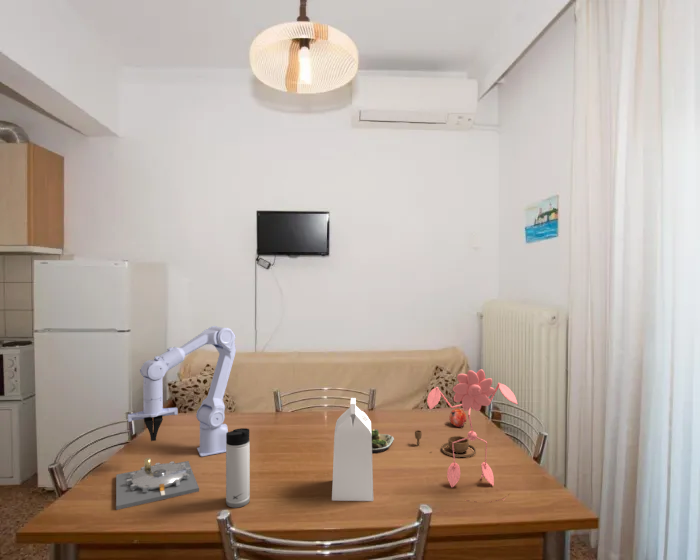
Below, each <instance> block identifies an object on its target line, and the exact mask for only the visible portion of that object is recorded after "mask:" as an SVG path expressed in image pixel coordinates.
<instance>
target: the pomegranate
mask: <svg viewBox="0 0 700 560" xmlns="http://www.w3.org/2000/svg"><path fill="white" fill-rule="evenodd" d="M448 416H449V422H450V424H452V425H453V426H455V427H456V428H462V427H463V426H464V425H467V423H466V422H467V419H468V418H467V414H466V411H464V410H463V408H454V409H452V410H451V411H450V414H449V415H448Z"/></svg>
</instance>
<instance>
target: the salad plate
mask: <svg viewBox="0 0 700 560" xmlns="http://www.w3.org/2000/svg"><path fill="white" fill-rule="evenodd" d="M371 434H372V454H375V453H376V454H377V453H383V452H385V451H387V450H389V449H390V447H391V445H393V442H394V441H395V438H394V436H392V435H390V434H386V433H384V434H383V433H379V429H377V428H371Z"/></svg>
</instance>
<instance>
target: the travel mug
mask: <svg viewBox="0 0 700 560" xmlns="http://www.w3.org/2000/svg"><path fill="white" fill-rule="evenodd" d="M250 448H251V447H250V428H246V427H245V428H244V427H243V428H236V429H232V430H231V431H228V432H227V433H226V452H225V502H226V506H228V507H230V508H236V509H237V508H242V507H244V506H247V505H248V504H249V502H250V500H251V496H250V494H251V492H250V491H251V490H250V485H251V484H250V483H251V482H250V477H251V476H250V474H251V473H250V472H251V471H250V468H251V467H250V466H251V465H250V464H251V463H250V461H251V460H250V456H251V455H250V453H251V451H250Z"/></svg>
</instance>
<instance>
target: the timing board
mask: <svg viewBox="0 0 700 560" xmlns="http://www.w3.org/2000/svg"><path fill="white" fill-rule="evenodd" d="M182 463H185V464H186V468H189V467H190V468H191V473H188V474H189V478H188V479H183V480H182V481H180V485H178V486H175V485H172V486H170V487H166V488H164V490H163V491H160V490H159V489H156V490H149V491H148V492H143V490H141V489H135V490H130V485H127V479H132V478H130V474H131V473H137V472H138V471H140V470H141V469H139V470H133V471H129V472H123V473H118V474H115V476H116V477H115V481H116V482H115V485H116V486H115V487H116V488H115V491H116V492H115V494H116V497H115V498H116V499H115V501H116V502H115V510H116V511H118V510H122V509H126V508H131V507H135V506H140V505H144V504H150V503H153V502H158V501H162V500H166V499H171V498H176V497H180V496H184V495H189V494H192V493H198V492H200V487H199V485H198V482H197V480H196V477H195V474H194V472H193V470H192V466H191V464H190V461H189V460H187V461H181V462H177V463H176V462H175V464H182ZM131 485H132V484H131Z"/></svg>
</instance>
